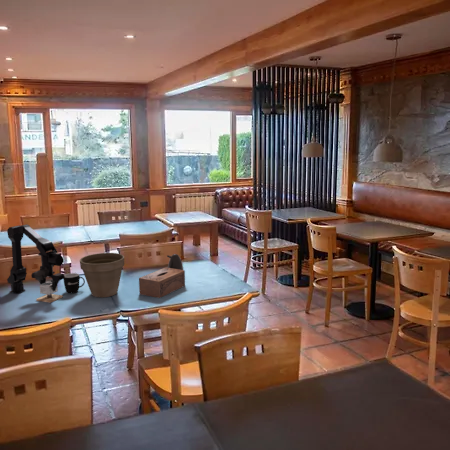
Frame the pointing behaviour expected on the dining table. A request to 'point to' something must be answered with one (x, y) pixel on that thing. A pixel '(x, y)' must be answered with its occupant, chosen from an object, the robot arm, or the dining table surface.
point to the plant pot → (103, 273)
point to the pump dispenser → (175, 262)
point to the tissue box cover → (161, 282)
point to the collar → (47, 288)
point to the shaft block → (49, 298)
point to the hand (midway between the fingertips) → (49, 290)
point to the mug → (72, 282)
